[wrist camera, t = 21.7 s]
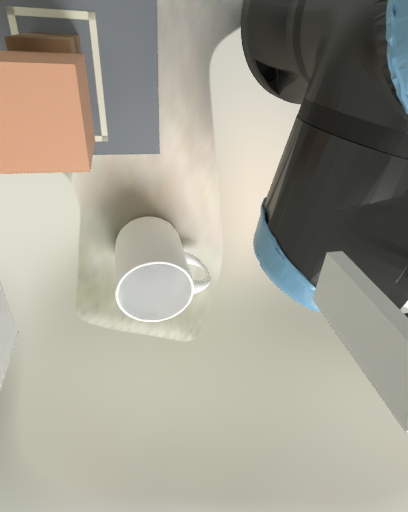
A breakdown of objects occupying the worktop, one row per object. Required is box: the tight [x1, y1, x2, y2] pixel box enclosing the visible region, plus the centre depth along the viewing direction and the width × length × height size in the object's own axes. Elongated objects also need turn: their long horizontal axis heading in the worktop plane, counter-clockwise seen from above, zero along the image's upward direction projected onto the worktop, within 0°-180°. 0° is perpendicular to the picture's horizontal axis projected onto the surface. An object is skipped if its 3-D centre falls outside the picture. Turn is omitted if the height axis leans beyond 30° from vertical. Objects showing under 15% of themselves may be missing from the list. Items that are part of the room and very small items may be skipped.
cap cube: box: [0, 50, 95, 174], centre depth 22 cm, size 6×6×7 cm
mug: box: [115, 216, 210, 322], centre depth 42 cm, size 9×12×11 cm
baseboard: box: [0, 0, 160, 155], centre depth 33 cm, size 18×14×2 cm
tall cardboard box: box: [4, 32, 81, 54], centre depth 29 cm, size 4×8×9 cm, turn 177°
